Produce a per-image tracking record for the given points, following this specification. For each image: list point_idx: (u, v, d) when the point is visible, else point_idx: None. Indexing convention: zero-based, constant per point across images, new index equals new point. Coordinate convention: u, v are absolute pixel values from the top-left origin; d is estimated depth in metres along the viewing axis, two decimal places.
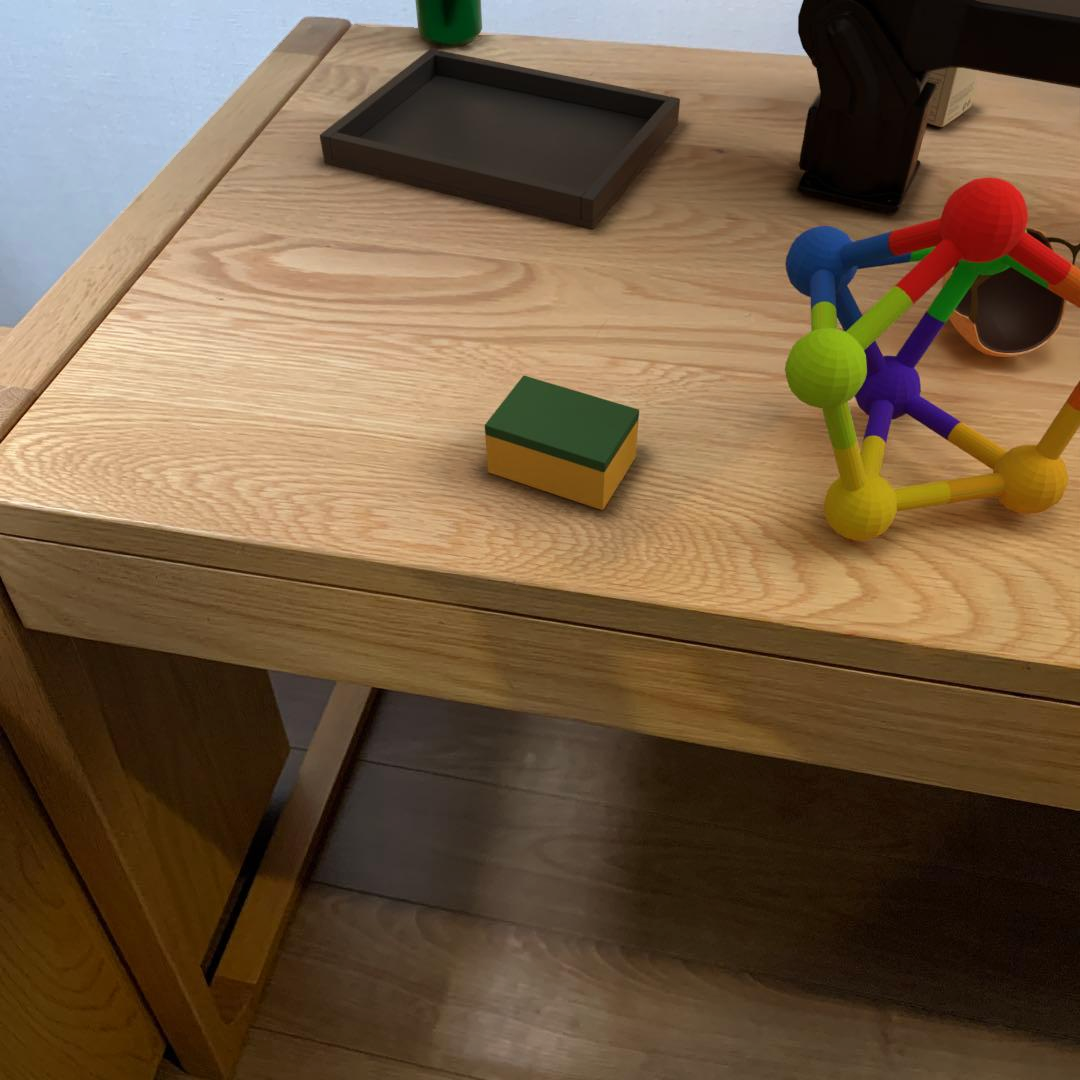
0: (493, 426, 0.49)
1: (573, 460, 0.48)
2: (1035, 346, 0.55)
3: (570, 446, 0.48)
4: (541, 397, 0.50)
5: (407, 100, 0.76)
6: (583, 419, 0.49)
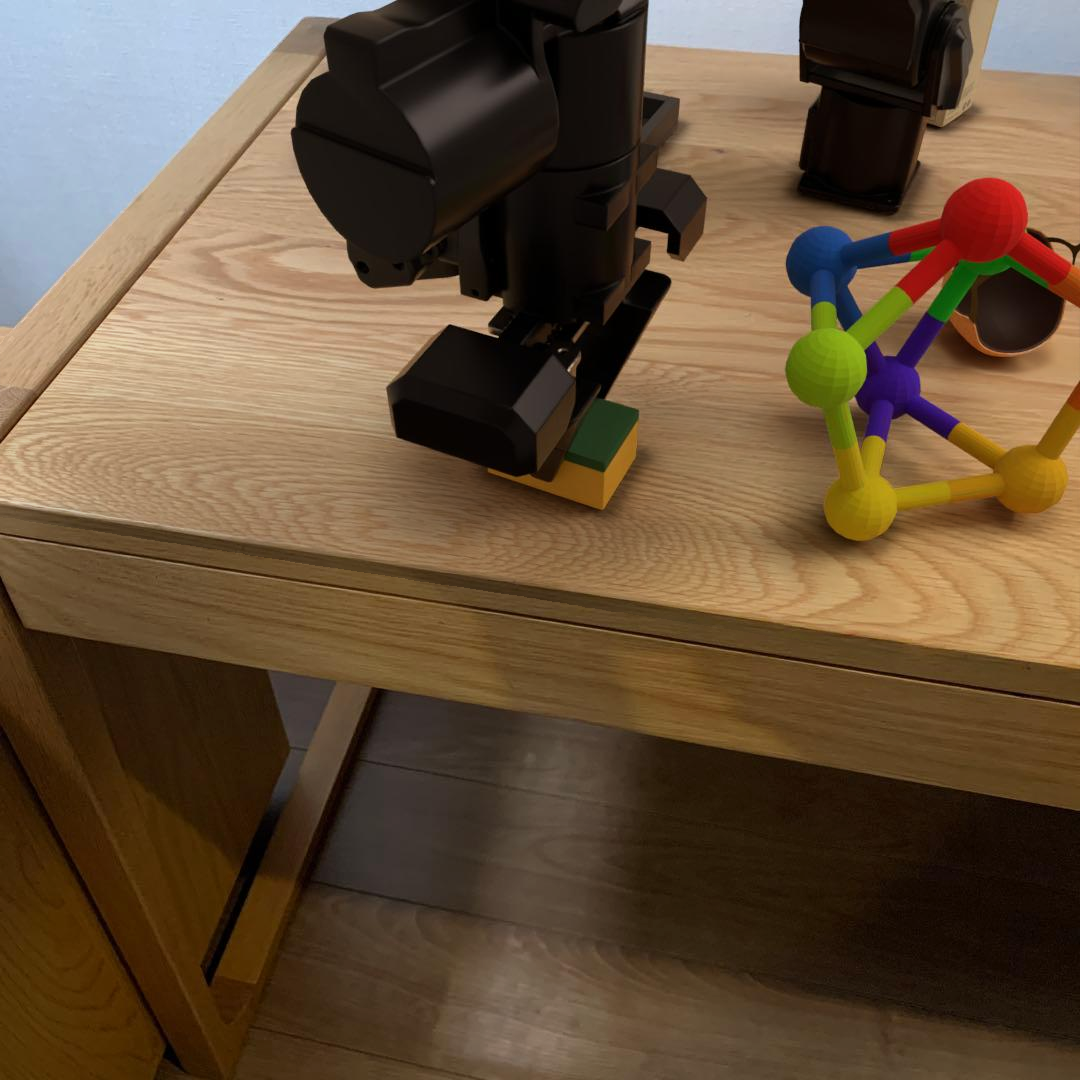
0: None
1: (573, 460, 0.48)
2: (1035, 346, 0.55)
3: None
4: None
5: None
6: None
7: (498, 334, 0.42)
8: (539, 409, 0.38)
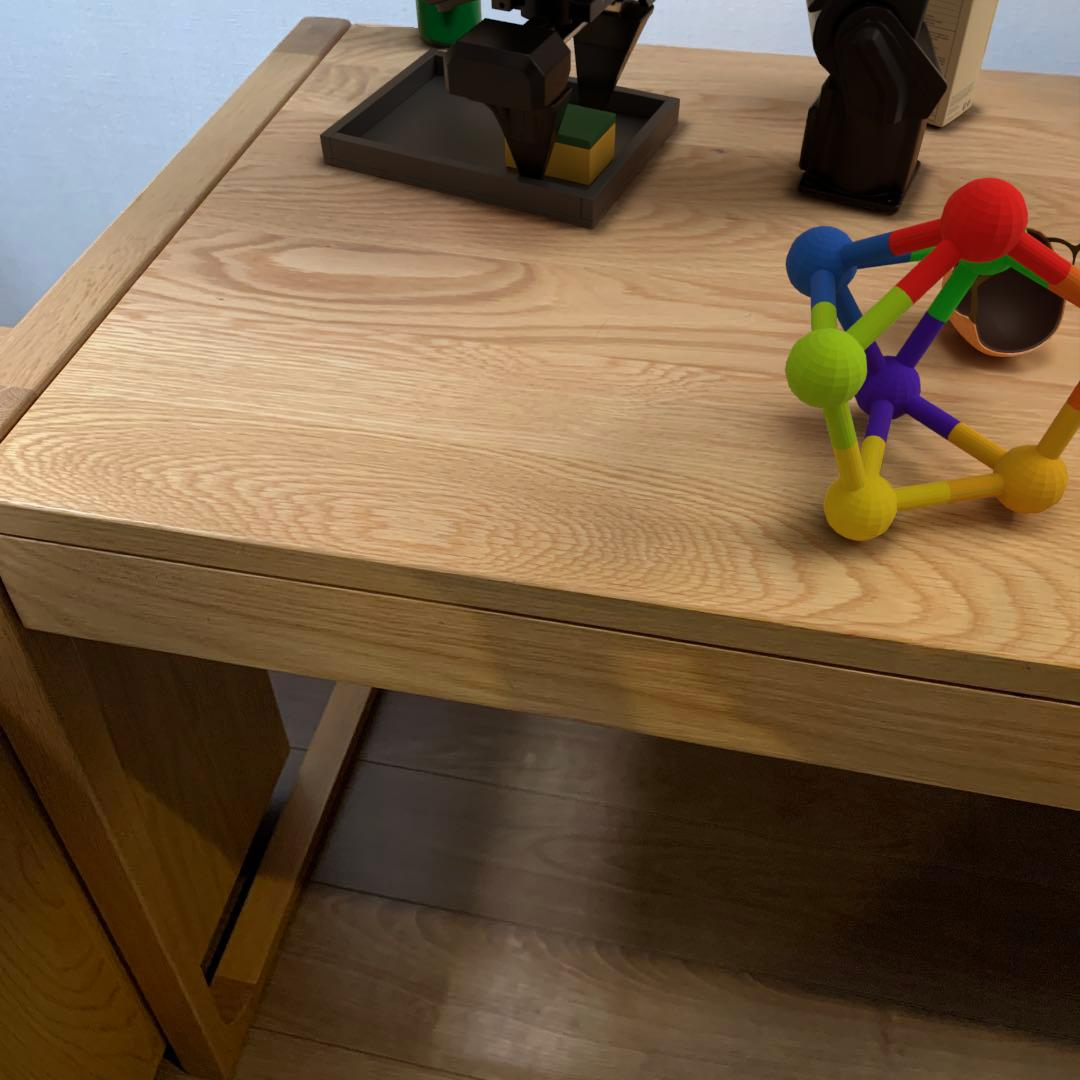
0: None
1: (567, 142, 0.66)
2: (1035, 346, 0.55)
3: (565, 132, 0.66)
4: None
5: (407, 100, 0.76)
6: (575, 118, 0.68)
7: None
8: (546, 61, 0.57)
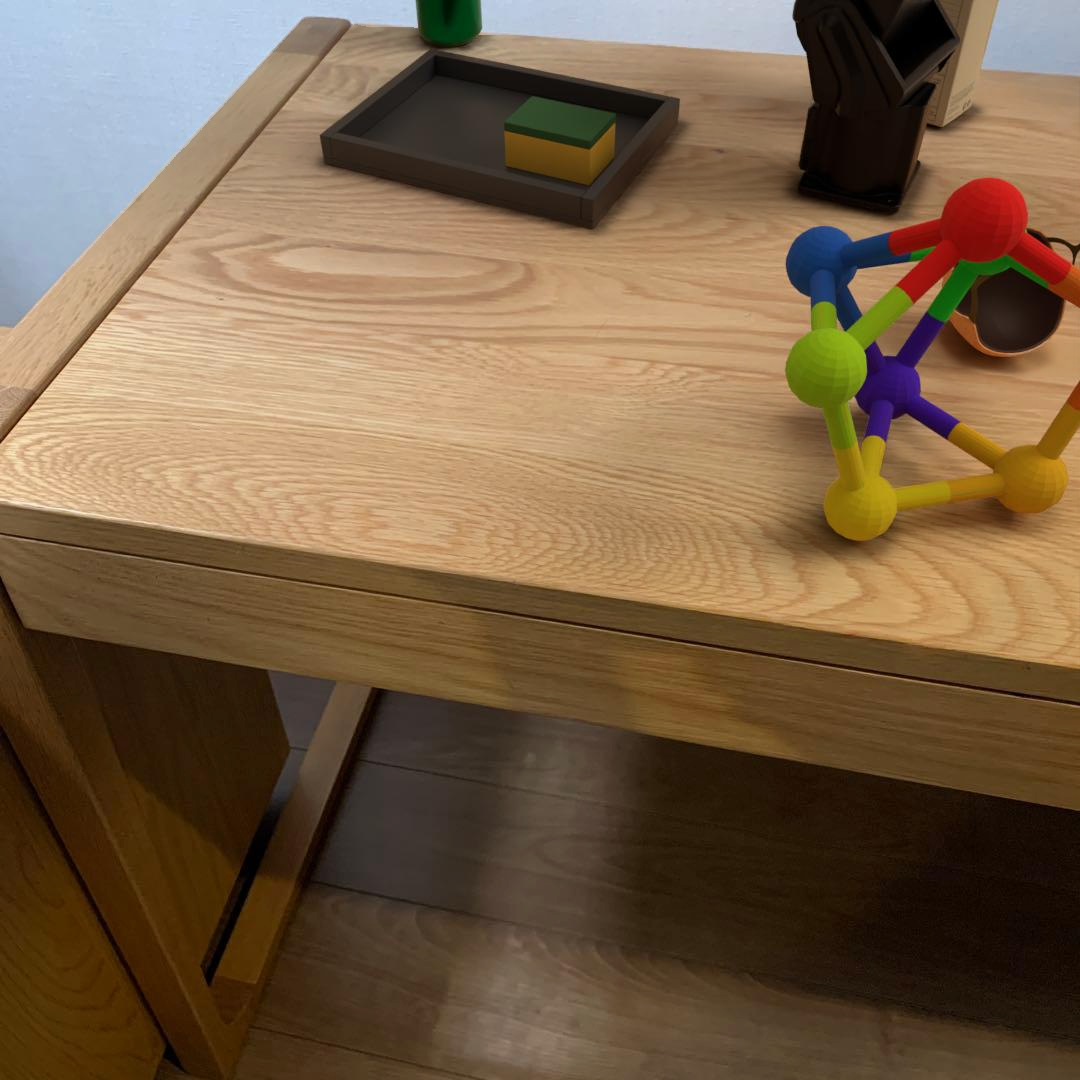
0: (510, 123, 0.67)
1: (567, 142, 0.66)
2: (1035, 346, 0.55)
3: (565, 132, 0.66)
4: (545, 107, 0.69)
5: (407, 100, 0.76)
6: (575, 118, 0.68)
7: None
8: None
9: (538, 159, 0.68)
